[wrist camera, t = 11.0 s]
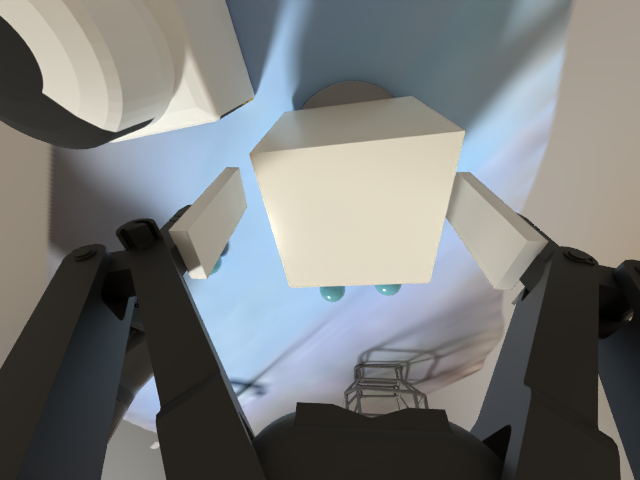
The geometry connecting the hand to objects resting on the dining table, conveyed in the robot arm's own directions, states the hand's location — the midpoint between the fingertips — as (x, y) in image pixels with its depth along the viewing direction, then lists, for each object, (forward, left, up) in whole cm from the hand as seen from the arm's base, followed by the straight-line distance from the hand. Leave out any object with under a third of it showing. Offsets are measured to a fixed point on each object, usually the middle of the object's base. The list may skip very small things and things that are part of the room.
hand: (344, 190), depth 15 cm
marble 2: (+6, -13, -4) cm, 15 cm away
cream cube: (+1, -1, -6) cm, 6 cm away
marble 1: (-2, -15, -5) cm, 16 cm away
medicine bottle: (-11, +7, -7) cm, 14 cm away
